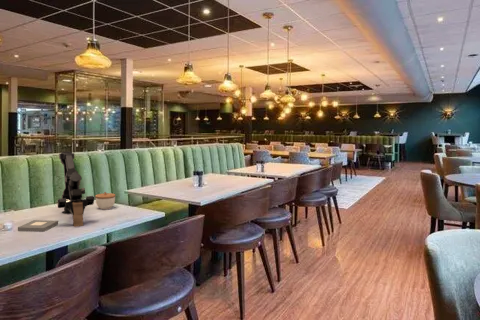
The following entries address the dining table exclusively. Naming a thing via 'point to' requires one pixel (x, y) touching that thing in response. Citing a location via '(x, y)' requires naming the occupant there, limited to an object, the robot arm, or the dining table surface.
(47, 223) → the foundation slab
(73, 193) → the robot arm
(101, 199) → the lidded bowl
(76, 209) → the walnut pillar
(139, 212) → the dining table surface
